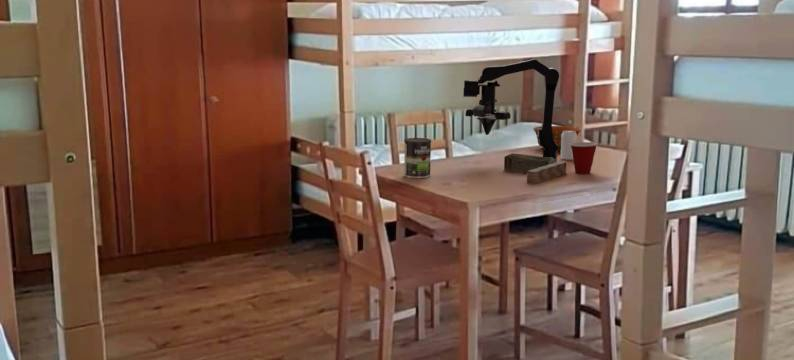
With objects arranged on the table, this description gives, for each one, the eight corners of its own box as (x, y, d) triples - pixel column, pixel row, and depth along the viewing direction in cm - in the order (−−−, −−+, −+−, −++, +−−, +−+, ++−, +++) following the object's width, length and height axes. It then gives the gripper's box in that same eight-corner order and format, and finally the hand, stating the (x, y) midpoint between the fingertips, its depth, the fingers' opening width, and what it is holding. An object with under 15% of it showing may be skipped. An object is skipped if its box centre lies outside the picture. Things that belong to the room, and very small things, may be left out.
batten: (559, 172, 323) (559, 161, 322) (565, 173, 321) (566, 162, 320) (526, 183, 303) (527, 171, 302) (533, 184, 301) (534, 172, 300)
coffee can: (435, 177, 313) (436, 140, 310) (411, 179, 308) (412, 142, 305) (422, 172, 322) (422, 136, 319) (399, 174, 317) (399, 138, 314)
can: (577, 158, 352) (579, 130, 350) (572, 160, 347) (573, 132, 344) (563, 156, 356) (565, 129, 353) (558, 159, 350) (559, 131, 348)
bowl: (537, 144, 388) (538, 123, 386) (583, 147, 380) (584, 126, 378) (528, 151, 369) (529, 129, 366) (575, 154, 361) (576, 132, 359)
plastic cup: (578, 168, 330) (579, 139, 327) (601, 172, 322) (603, 142, 319) (562, 172, 322) (564, 142, 320) (586, 176, 315) (587, 146, 312)
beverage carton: (548, 176, 316) (549, 159, 314) (502, 171, 326) (503, 155, 324) (555, 172, 323) (556, 156, 321) (510, 168, 332) (511, 152, 331)
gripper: (458, 97, 334) (457, 134, 338) (497, 100, 323) (496, 139, 326) (473, 95, 343) (472, 131, 346) (511, 98, 332) (510, 136, 335)
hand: (487, 134), depth 338 cm, fingers closed
